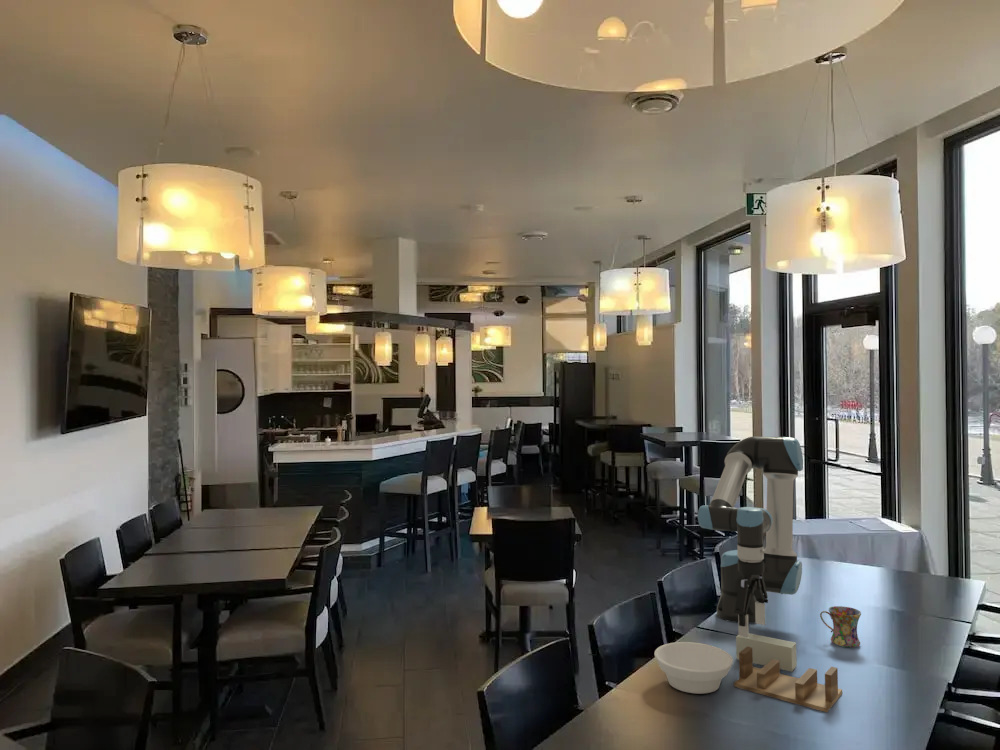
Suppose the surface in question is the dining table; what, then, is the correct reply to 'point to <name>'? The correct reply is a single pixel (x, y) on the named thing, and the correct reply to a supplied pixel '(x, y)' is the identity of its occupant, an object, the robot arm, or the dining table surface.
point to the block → (768, 650)
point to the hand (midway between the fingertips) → (752, 630)
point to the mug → (844, 625)
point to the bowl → (693, 666)
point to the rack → (788, 683)
